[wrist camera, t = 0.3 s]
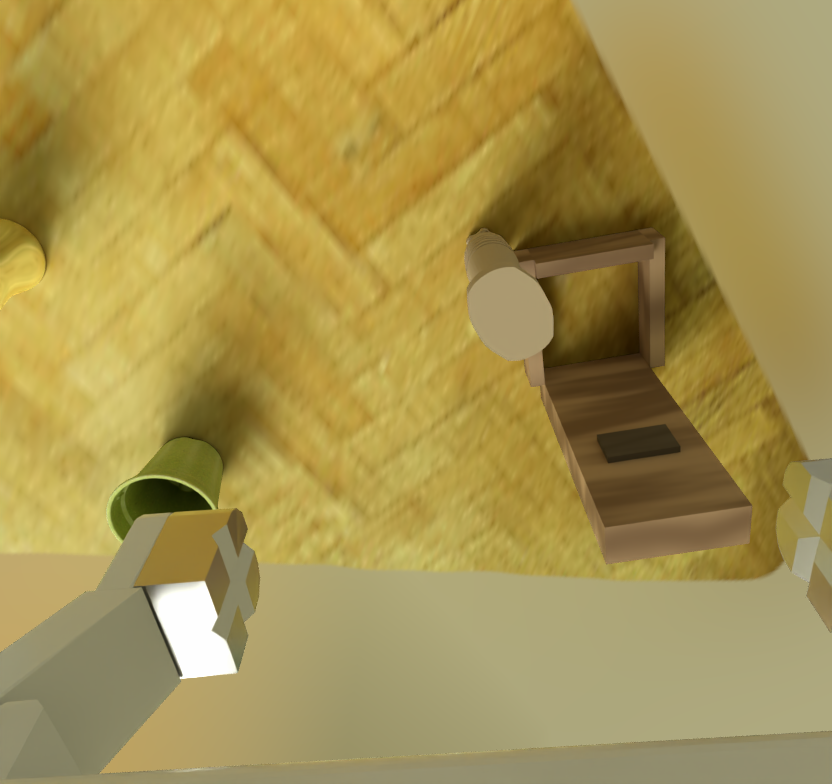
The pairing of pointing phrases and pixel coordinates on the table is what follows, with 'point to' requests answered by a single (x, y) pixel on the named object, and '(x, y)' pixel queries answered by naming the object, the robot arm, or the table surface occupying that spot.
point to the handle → (505, 299)
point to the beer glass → (18, 260)
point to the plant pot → (168, 485)
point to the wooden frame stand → (634, 423)
